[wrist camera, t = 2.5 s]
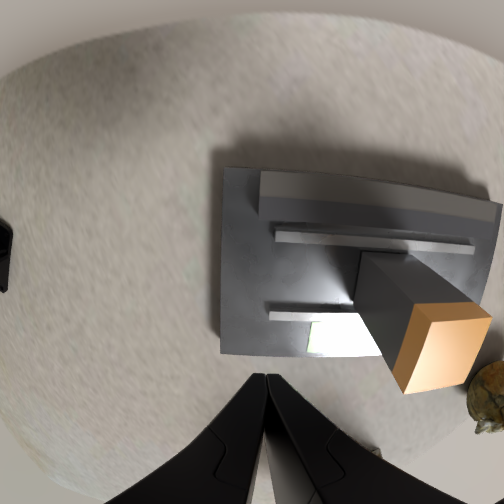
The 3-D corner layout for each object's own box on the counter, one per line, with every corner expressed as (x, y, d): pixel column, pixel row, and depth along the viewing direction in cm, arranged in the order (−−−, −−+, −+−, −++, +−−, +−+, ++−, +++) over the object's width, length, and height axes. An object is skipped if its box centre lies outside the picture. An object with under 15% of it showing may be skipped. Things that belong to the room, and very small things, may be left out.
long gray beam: (258, 215, 17) (258, 219, 15) (260, 169, 16) (261, 170, 15) (481, 235, 17) (491, 239, 15) (486, 201, 16) (497, 204, 15)
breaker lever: (352, 304, 18) (403, 394, 10) (362, 251, 17) (431, 322, 9) (400, 304, 18) (463, 383, 10) (411, 254, 17) (492, 317, 9)
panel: (222, 341, 21) (219, 359, 19) (226, 166, 17) (222, 167, 15) (455, 337, 21) (467, 349, 19) (490, 200, 17) (507, 205, 15)
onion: (468, 410, 24) (496, 454, 17) (446, 390, 23) (479, 443, 15) (512, 364, 23) (546, 403, 15) (497, 336, 21) (541, 380, 13)
